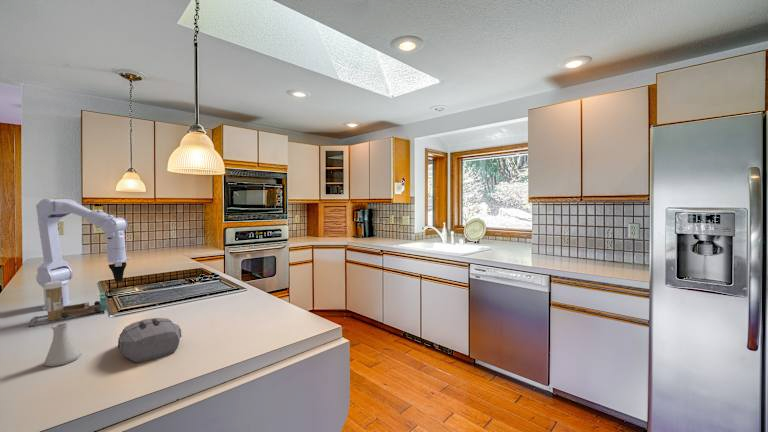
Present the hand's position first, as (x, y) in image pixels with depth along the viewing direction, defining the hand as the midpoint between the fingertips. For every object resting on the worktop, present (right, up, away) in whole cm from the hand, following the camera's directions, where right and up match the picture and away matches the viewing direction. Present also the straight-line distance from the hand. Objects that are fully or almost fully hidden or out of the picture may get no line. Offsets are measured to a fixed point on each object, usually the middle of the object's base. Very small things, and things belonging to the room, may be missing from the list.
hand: (118, 281), depth 137 cm
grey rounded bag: (+38, -13, -36) cm, 54 cm away
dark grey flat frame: (-11, -11, -9) cm, 18 cm away
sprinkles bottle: (-14, -12, -11) cm, 22 cm away
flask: (+19, -14, -44) cm, 49 cm away
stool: (-8, -10, -6) cm, 15 cm away
